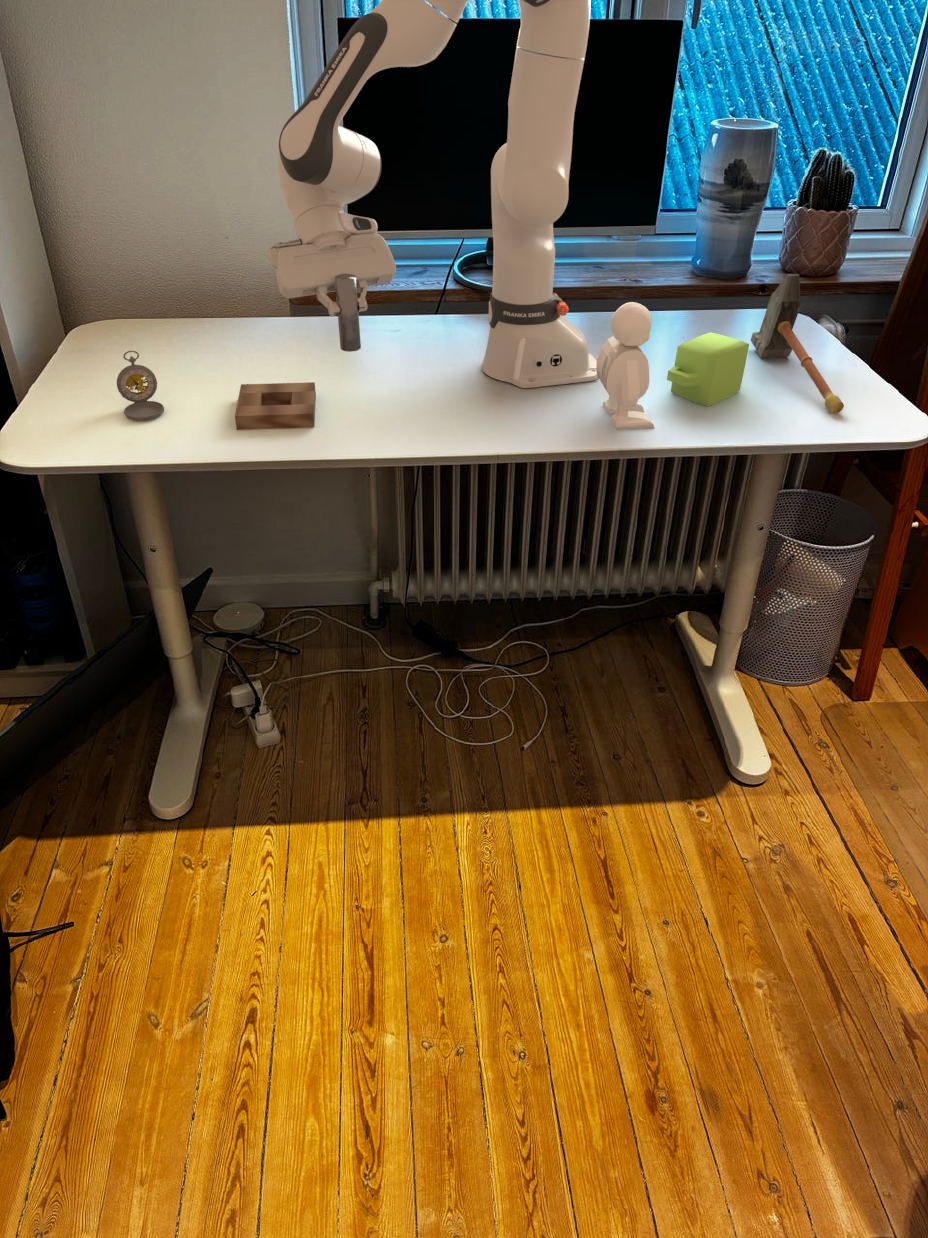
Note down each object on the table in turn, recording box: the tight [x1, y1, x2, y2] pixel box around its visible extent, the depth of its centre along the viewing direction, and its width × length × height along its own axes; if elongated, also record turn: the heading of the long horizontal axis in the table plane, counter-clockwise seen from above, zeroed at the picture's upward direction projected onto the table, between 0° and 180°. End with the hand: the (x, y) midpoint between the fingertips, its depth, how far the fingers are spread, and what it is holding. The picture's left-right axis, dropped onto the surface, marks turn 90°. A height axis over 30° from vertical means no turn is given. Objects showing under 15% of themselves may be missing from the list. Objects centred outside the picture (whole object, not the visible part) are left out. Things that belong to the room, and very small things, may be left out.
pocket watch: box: [116, 350, 165, 421], centre depth 163 cm, size 8×8×10 cm
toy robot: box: [596, 301, 655, 430], centre depth 161 cm, size 14×9×20 cm, turn 7°
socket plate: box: [234, 381, 317, 431], centre depth 166 cm, size 13×13×2 cm
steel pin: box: [335, 274, 362, 353], centre depth 160 cm, size 4×4×12 cm
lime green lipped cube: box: [666, 332, 750, 407], centre depth 174 cm, size 18×10×10 cm, turn 134°
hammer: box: [750, 273, 845, 415], centre depth 177 cm, size 6×16×31 cm
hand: (349, 311), depth 160 cm, fingers closed on steel pin, 3 cm apart
